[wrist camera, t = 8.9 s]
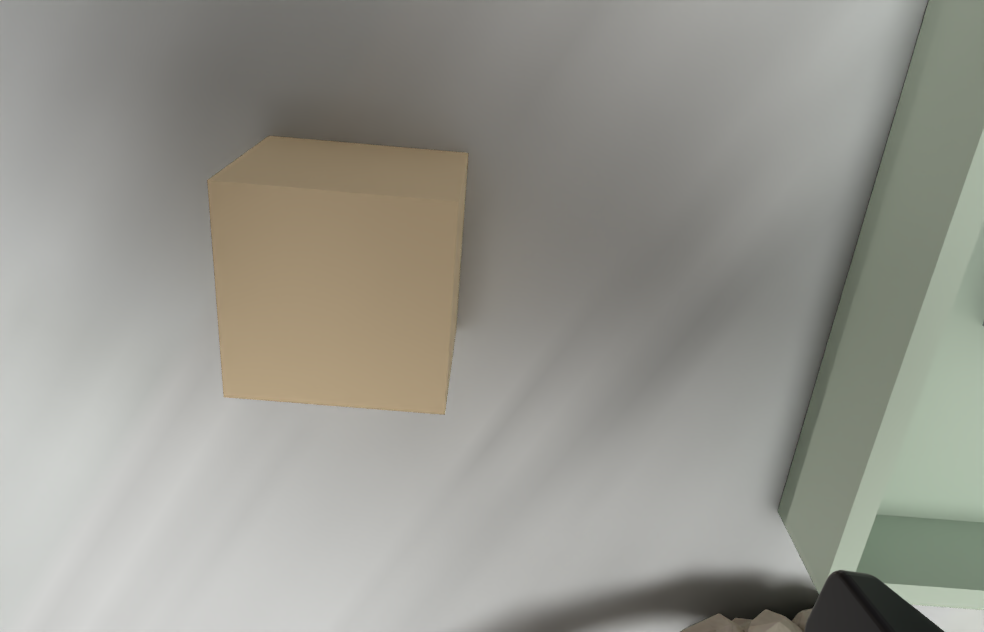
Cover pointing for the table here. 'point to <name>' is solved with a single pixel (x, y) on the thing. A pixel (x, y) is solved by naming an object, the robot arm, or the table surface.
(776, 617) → the skeleton model
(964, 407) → the tote
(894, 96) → the table surface
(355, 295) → the carton
